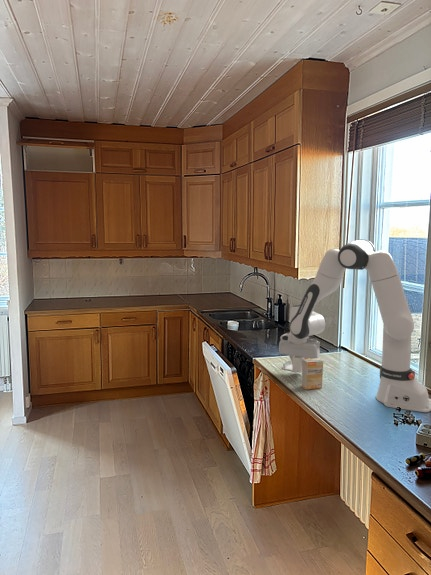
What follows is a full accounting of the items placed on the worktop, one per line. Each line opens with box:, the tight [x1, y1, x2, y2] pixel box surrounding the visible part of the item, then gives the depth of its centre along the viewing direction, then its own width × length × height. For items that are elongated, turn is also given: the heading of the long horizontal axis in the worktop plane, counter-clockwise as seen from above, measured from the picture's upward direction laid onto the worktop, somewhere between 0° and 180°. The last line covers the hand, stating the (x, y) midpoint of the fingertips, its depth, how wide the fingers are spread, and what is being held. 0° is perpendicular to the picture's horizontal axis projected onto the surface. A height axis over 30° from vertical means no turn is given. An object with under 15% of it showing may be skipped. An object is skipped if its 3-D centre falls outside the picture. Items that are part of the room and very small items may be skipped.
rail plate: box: [282, 360, 293, 372], centre depth 229 cm, size 8×7×3 cm
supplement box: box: [301, 357, 324, 390], centre depth 203 cm, size 8×5×13 cm, turn 105°
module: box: [291, 356, 304, 374], centre depth 219 cm, size 4×6×7 cm, turn 145°
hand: (298, 365), depth 219 cm, fingers closed on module, 4 cm apart
